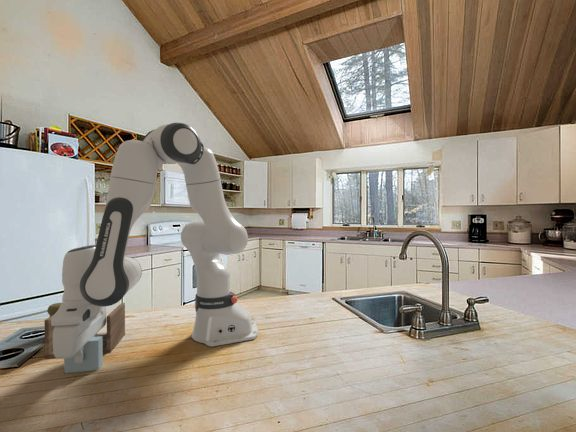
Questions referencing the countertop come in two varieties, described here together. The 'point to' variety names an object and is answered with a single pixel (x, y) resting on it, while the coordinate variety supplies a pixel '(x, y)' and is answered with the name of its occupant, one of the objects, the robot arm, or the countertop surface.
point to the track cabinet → (109, 339)
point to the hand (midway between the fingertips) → (84, 357)
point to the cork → (53, 308)
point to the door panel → (87, 357)
